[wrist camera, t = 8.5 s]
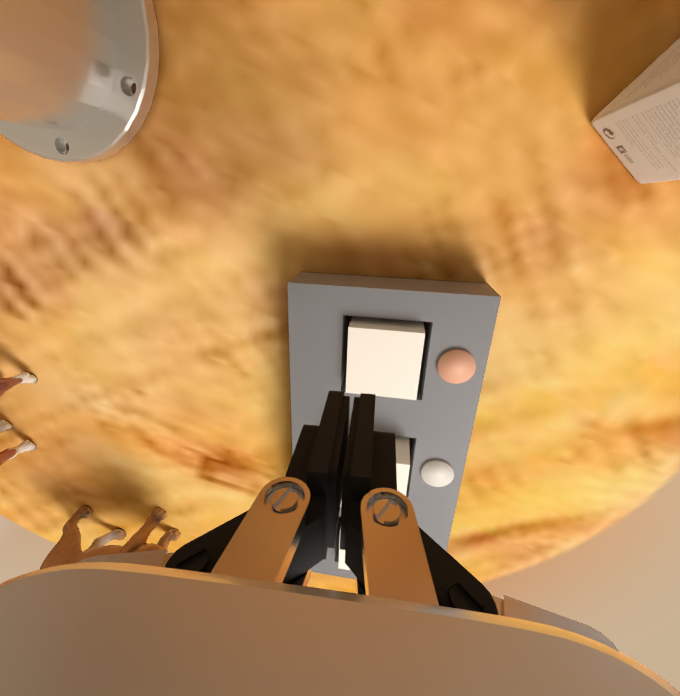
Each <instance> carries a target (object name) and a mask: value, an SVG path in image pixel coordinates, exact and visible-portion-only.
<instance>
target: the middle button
mask: <svg viewBox="0 0 680 696" xmlns="http://www.w3.org/2000/svg"><path fill="white" fill-rule="evenodd" d="M348 435H349V430H348ZM395 442H396V473H397V491H399V492H401V493H402V494H404V495H405V496H406V491H407V484H408V476H409V469H410V448H409V437H401V436H395ZM341 500H342V499H341ZM340 507H341V506H340Z"/></svg>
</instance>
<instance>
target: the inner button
mask: <svg viewBox="0 0 680 696" xmlns="http://www.w3.org/2000/svg"><path fill="white" fill-rule="evenodd" d="M424 339H425V329H424V324H423V321H411V320H398V319H385V318H373V317H360V316H353V317H352V319H351V322H350V324H349V327H348V347H347V371H346V393H353V394H361V393H365V394H376V396H381V397H391V398H400V399H409V400H416V399H417V391H418V384H419V376H420V369H421V361H422V354H423V346H424Z"/></svg>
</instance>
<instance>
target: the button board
mask: <svg viewBox="0 0 680 696" xmlns="http://www.w3.org/2000/svg"><path fill="white" fill-rule="evenodd" d="M287 287H288V321H289V355H290V389H291V423H292V456H293V453H294V450H295V447H296V444H297V441H298V439H299V436H300V433H301V430H302V427H303V425H304V424H306V425H316V426H319V425H320V421H321V418H322V414H323V411H324V407H325V403H326V400H327V396H328V393H329V391H342V392H344V396H350V407H349V429H350V422H351V416H352V409H353V402H354V397H360V394H353V393H346V371H347V347H348V327H349V321H350V316H360V317H373V318H385V319H398V320H411V321H424V322H427V325H426V332H425V340H424V347H423V355H422V362H421V370H420V377H419V384H418V391H417V399H416V400H409V399H400V398H391V397H381V396H376V397H375V415H374V431H379V432H389V433H395V436H401V437H410V438H411V444H410V469H409V476H408V484H407V491H406V497H407V498H408V499H409V500H410V501H411V503H412V506H413V508H414V512H415V515H416V519H417V523H418V526H419V527H420V528H421V529H422V530H423V531H424V532H425V533H426V534H428V535H429V536H430V537H431V538H432V539H433V540H434V541H435V542H436V543H437V544H439V545H440V546H441V547H442V548H443V549H444V550H445V551H446V550H447V546H448V541H449V536H450V532H451V527H452V522H453V518H454V513H455V508H456V504H457V499H458V494H459V490H460V485H461V480H462V476H463V471H464V466H465V462H466V457H467V452H468V448H469V443H470V438H471V434H472V429H473V424H474V420H475V415H476V410H477V406H478V401H479V396H480V392H481V387H482V382H483V378H484V373H485V368H486V364H487V359H488V354H489V350H490V345H491V340H492V336H493V331H494V326H495V322H496V317H497V313H498V308H499V303H500V299H501V296H500V295H499V294H498V293H497V292H496V291H495V290H494V289H493V288H492V287H491V286H490V285H489V284H488V283H472V282H456V281H439V280H423V279H407V278H391V277H375V276H359V275H343V274H327V273H311V272H301V273H299V274H298V275H297V276H295V277H294V278H293V279H291V280H290V281H289V282H287ZM349 429H348V430H349ZM340 527H341V507H340V513H339V520H338V527H337V534H336V541H335V547H334V548H328V550H327V556H326V560H325V559H323V560H322V561H320V562H319V563H318V564H316V565H315V566H313V567H312V570H311V572H317V573H322V574H328V575H334V576H339V577H345V578H351V579H356V576H355V575H354V574H353V572H352V571H351V570H345V569H339V568H338V564H339V540H340Z"/></svg>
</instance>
